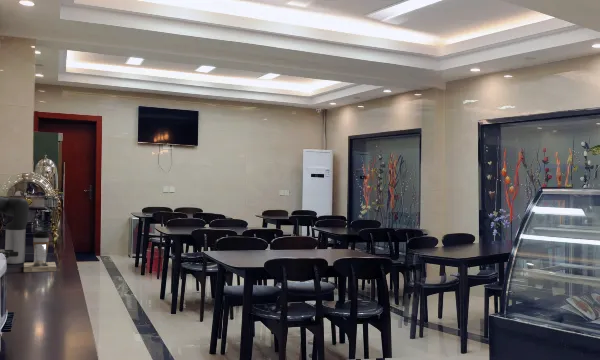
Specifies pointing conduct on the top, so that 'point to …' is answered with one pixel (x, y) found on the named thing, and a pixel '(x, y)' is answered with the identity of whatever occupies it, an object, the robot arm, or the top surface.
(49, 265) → the mounting board
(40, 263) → the grey cylinder
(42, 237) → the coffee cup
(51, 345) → the top surface
